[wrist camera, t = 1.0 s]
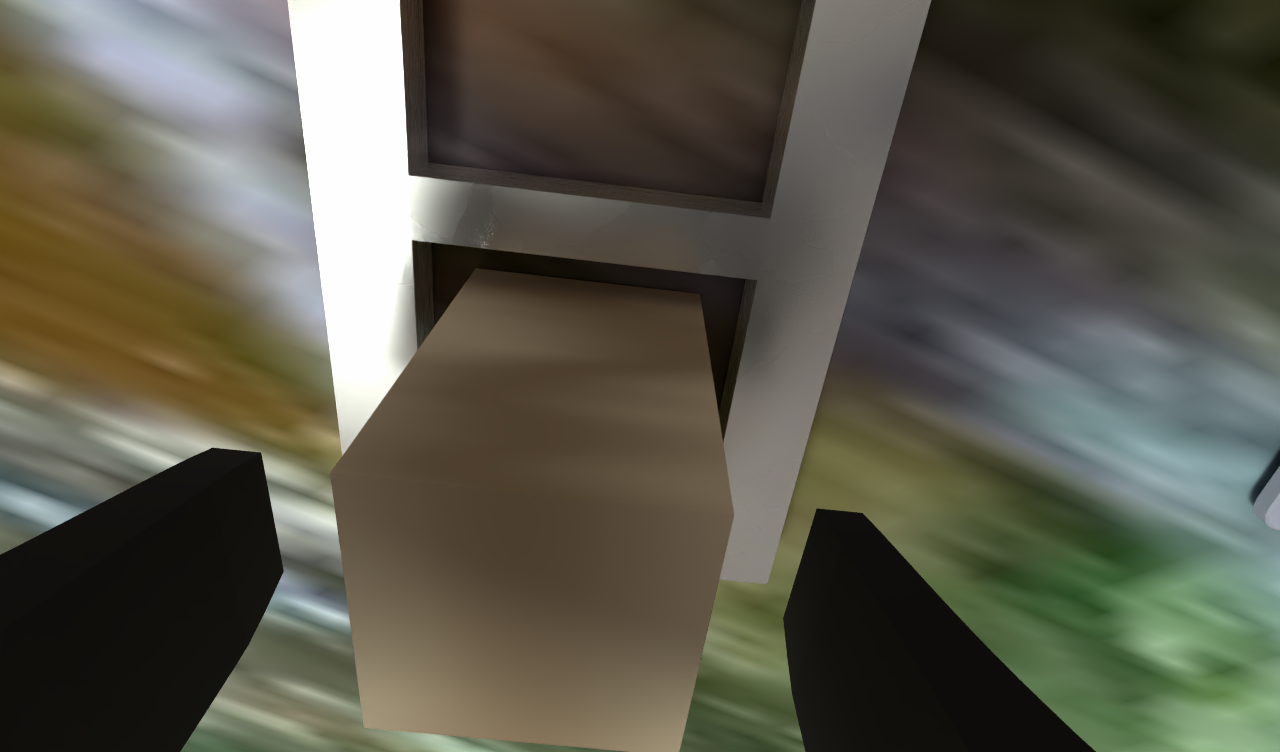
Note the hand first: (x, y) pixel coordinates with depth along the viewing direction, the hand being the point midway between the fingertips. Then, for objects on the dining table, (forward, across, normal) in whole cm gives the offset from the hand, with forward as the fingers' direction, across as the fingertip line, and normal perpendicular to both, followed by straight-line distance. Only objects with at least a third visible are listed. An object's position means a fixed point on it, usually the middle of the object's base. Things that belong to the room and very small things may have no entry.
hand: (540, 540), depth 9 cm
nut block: (+4, 0, 0) cm, 5 cm away
